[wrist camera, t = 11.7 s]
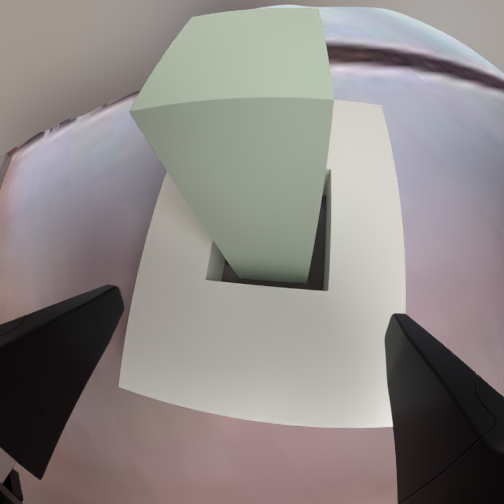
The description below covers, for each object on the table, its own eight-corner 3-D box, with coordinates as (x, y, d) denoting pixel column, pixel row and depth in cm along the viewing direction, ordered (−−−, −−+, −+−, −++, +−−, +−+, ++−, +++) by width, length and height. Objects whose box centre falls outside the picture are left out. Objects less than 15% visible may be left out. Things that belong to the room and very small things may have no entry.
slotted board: (376, 414, 13) (393, 426, 10) (144, 383, 15) (118, 386, 13) (374, 132, 20) (381, 105, 17) (203, 126, 22) (193, 100, 19)
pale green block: (306, 283, 16) (333, 99, 4) (239, 278, 17) (128, 111, 5) (310, 207, 18) (318, 9, 6) (249, 204, 19) (192, 17, 7)
